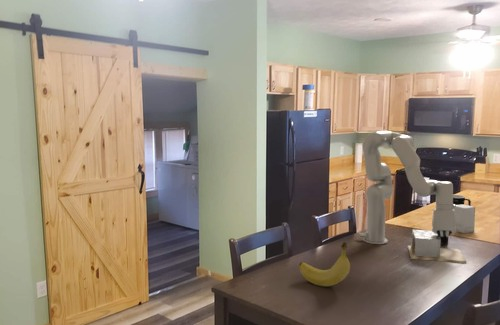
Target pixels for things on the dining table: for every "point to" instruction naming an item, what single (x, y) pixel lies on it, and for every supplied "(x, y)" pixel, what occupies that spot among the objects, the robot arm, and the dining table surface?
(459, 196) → the mug
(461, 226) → the supplement box
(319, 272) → the banana
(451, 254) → the housing base
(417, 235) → the cover
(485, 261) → the dining table surface
